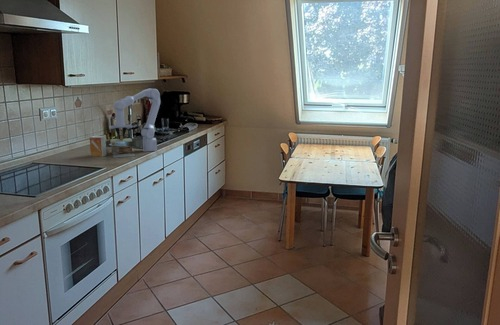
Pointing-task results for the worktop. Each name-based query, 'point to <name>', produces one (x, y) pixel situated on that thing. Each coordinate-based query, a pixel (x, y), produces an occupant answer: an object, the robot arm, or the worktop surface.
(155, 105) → the robot arm
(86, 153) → the worktop surface
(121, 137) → the mint green slab
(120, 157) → the mat
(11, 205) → the worktop surface
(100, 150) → the small box
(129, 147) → the open brown box
